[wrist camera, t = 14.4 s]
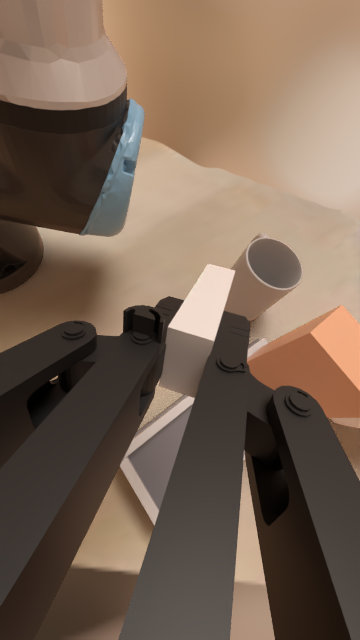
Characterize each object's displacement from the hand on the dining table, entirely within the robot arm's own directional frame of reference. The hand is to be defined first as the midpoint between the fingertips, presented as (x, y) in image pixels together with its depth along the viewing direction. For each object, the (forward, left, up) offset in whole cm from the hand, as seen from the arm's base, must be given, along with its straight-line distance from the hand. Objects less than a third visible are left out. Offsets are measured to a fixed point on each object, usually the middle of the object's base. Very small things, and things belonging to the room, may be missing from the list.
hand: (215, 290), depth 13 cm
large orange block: (+14, -3, -20) cm, 25 cm away
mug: (+15, +13, -23) cm, 30 cm away
